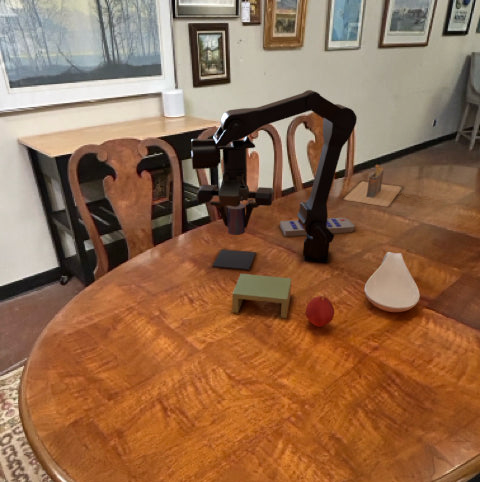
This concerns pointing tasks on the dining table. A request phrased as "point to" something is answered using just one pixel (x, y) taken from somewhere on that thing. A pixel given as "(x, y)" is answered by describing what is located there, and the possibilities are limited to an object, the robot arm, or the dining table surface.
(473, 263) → the dining table surface
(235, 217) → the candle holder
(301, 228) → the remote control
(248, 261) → the mat
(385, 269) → the spoon rest
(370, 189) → the architectural model on board
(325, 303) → the onion
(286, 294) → the shelf
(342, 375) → the dining table surface
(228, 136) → the robot arm
